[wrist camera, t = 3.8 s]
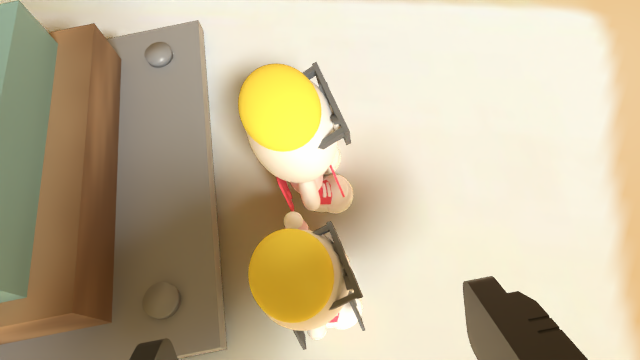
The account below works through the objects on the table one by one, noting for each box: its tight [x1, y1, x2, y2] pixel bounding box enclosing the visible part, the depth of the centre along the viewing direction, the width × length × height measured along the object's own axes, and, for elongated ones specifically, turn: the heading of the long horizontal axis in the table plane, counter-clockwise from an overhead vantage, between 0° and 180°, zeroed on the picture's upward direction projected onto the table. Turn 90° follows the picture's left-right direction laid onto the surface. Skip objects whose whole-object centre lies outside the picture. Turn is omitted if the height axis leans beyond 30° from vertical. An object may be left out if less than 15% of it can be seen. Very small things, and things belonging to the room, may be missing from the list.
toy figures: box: [238, 62, 365, 350], centre depth 19 cm, size 12×4×8 cm, turn 4°
